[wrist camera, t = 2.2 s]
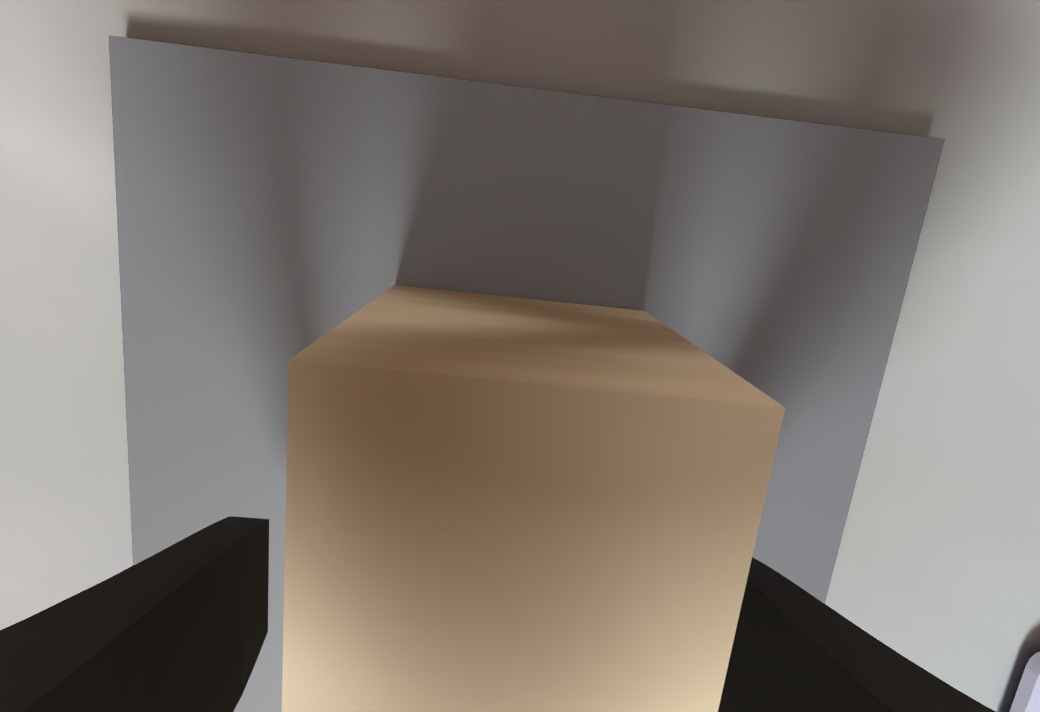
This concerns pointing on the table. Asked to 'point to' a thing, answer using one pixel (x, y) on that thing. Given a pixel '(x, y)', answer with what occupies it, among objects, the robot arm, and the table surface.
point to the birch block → (516, 510)
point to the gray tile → (483, 262)
